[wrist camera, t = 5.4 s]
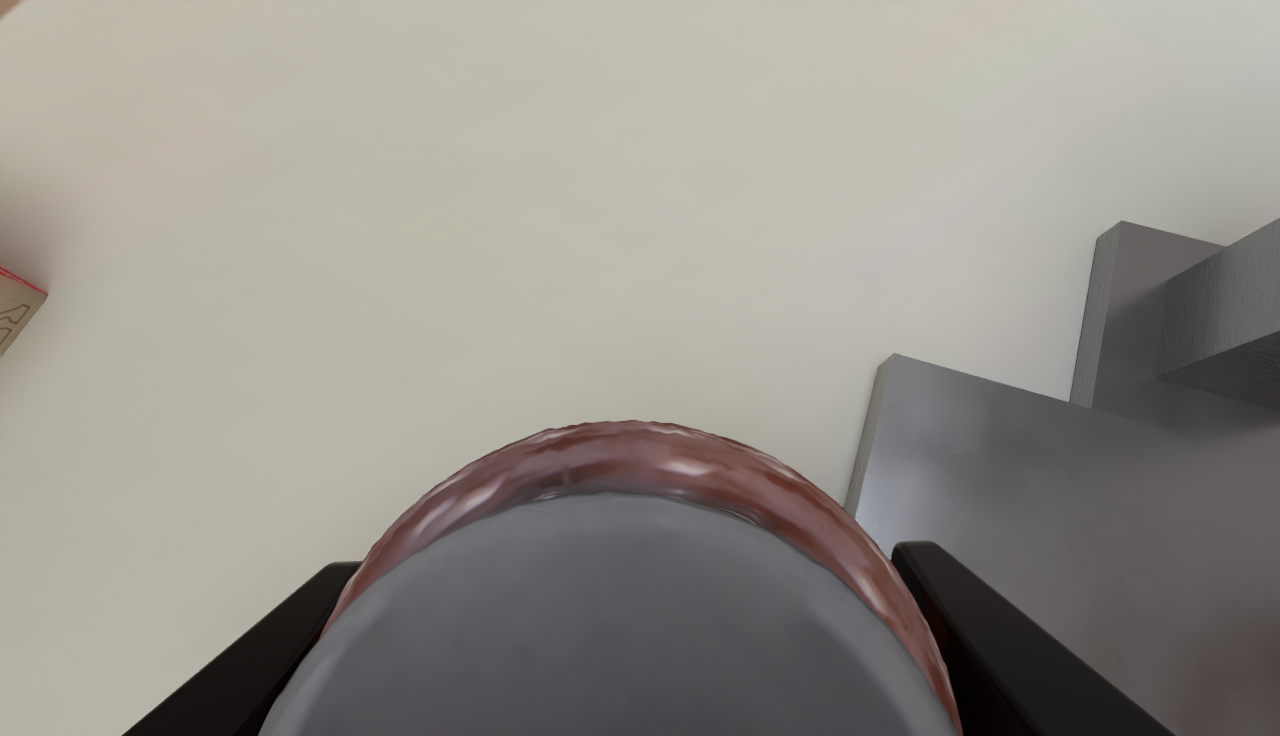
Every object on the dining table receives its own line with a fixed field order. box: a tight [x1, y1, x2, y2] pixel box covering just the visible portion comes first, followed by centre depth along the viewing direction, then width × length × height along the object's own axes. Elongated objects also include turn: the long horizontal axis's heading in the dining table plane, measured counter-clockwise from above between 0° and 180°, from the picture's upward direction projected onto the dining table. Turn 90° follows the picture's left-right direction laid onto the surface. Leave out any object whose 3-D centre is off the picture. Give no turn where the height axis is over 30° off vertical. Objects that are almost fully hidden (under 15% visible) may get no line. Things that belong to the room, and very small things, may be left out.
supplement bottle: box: [258, 420, 963, 736], centre depth 9 cm, size 6×6×11 cm
